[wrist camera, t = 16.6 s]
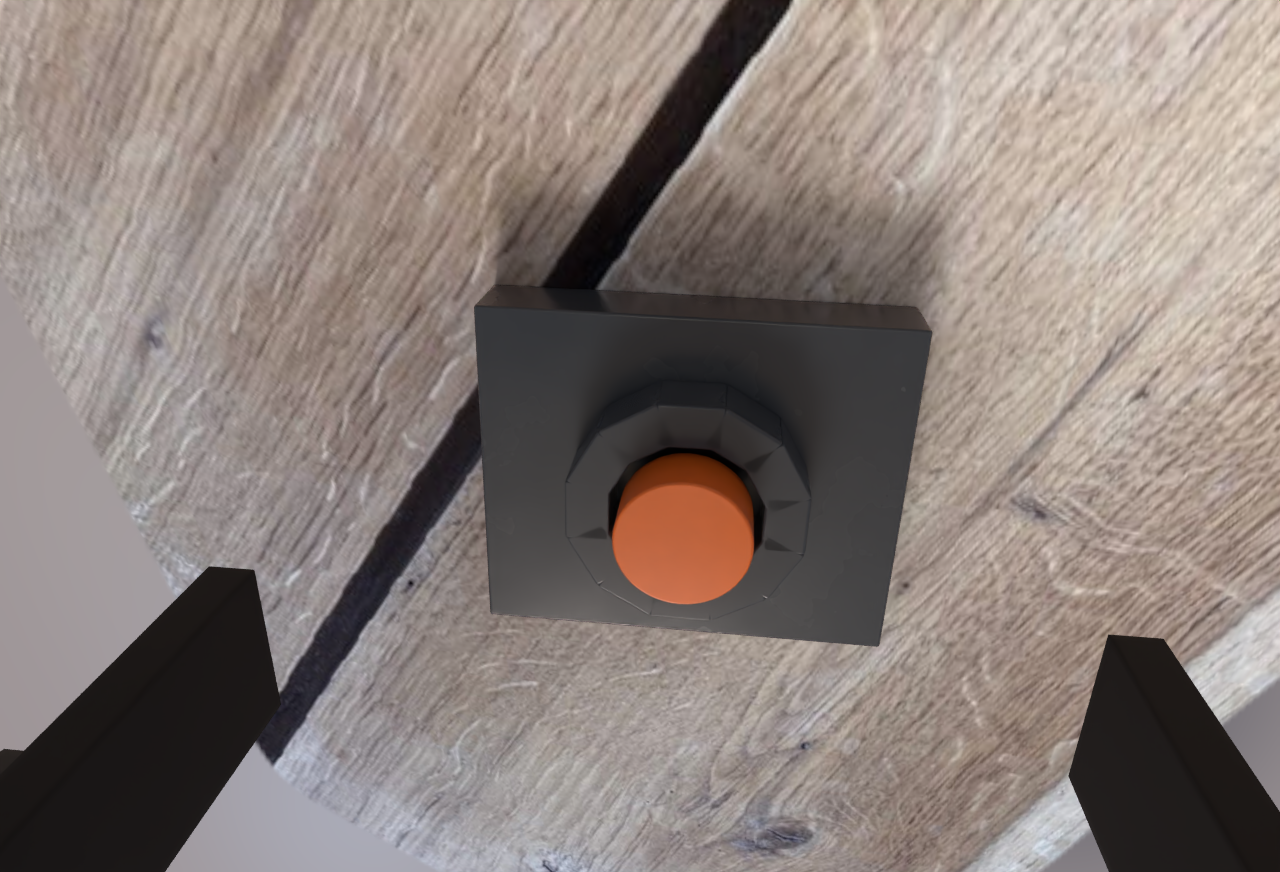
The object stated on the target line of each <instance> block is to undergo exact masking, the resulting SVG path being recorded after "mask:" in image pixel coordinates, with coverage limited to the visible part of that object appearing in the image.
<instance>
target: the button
mask: <svg viewBox="0 0 1280 872" xmlns="http://www.w3.org/2000/svg"><path fill="white" fill-rule="evenodd" d="M612 548H613V552H614V556H615V559H616V562H617V564H618V566H619V567H620V569H621V571H622V572H623V574H624V575H625V576H626V578H627V579H628V580H629V581H630V582H631V583H632V584H633V585H634V586H635V587H637V588H638V589H639V590H641V591H642V592H644V593H645V594H647V595H649V596H651V597H653V598H656V599H659V600H661V601H665V602H669V603H676V604H697V603H702V602H707V601H710V600H713V599H715V598H718V597H720V596H722V595H724V594H725V593H727V592H728V591H730V590H731V589H732V588H734V587H735V586H736V585H737V584H738V583H739V582H740V581H741V580H742V578H743V577H744V575H745V574H746V573H747V571H748V569H749V567H750V564H751V561H752V558H753V553H754V514H753V504H752V500H751V497H750V494H749V492H748V490H747V488H746V486H745V485H744V483H743V481H742V480H741V479H740V478H739V477H738V475H737V474H736V473H734V472H733V471H732V470H731V469H730V468H728V467H727V466H726V465H724V464H722V463H721V462H719V461H717V460H715V459H712V458H710V457H707V456H703V455H699V454H692V453H677V454H670V455H666V456H662V457H659V458H657V459H654V460H652V461H650V462H648V463H647V464H645V465H644V466H642V467H641V468H640V469H639V470H638V471H636V472H635V473H634V474H633V476H632V477H631V478H630V479H629V481H628V483H627V484H626V486H625V488H624V490H623V493H622V496H621V500H620V504H619V508H618V512H617V516H616V520H615V524H614V528H613V532H612Z"/></svg>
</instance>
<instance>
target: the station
mask: <svg viewBox="0 0 1280 872" xmlns="http://www.w3.org/2000/svg"><path fill="white" fill-rule="evenodd" d="M474 315H475V333H476V352H477V371H478V389H479V408H480V426H481V445H482V464H483V482H484V501H485V520H486V538H487V557H488V575H489V594H490V612H491V614H499V615H510V616H522V617H534V618H546V619H558V620H569V621H581V622H593V623H605V624H617V625H628V626H640V627H652V628H664V629H676V630H687V631H699V632H711V633H723V634H735V635H746V636H758V637H770V638H782V639H794V640H805V641H817V642H829V643H841V644H853V645H864V646H876V647H877V646H879V644H880V638H881V632H882V626H883V621H884V615H885V609H886V603H887V597H888V591H889V585H890V579H891V574H892V568H893V562H894V556H895V550H896V544H897V538H898V532H899V527H900V521H901V515H902V509H903V503H904V497H905V491H906V485H907V479H908V474H909V468H910V462H911V456H912V450H913V444H914V438H915V432H916V427H917V421H918V415H919V409H920V403H921V397H922V391H923V385H924V379H925V374H926V368H927V362H928V356H929V350H930V344H931V338H932V330H931V329H930V327H929V326H928V324H927V322H926V321H925V319H924V317H923V316H922V314H921V313H920V311H919V309H918V308H916V307H902V306H883V305H865V304H846V303H827V302H809V301H790V300H771V299H753V298H734V297H715V296H697V295H678V294H659V293H641V292H622V291H603V290H585V289H566V288H547V287H529V286H510V285H494V286H493V287H492V288H491V289H490V290H489V291H488V292H487V293H486V294H485V295H484V296H483V298H482V299H481V300H480V301H479V302H478V303H477V304H476V305H475V306H474ZM677 453H692V454H699V455H703V456H707V457H710V458H712V459H715V460H717V461H719V462H721V463H722V464H724V465H726V466H727V467H728V468H730V469H731V470H732V471H733V472H734V473H736V474H737V475H738V477H739V478H740V479H741V480H742V481H743V483H744V485H745V486H746V488H747V490H748V492H749V494H750V497H751V500H752V504H753V514H754V553H753V558H752V561H751V564H750V567H749V569H748V571H747V573H746V574H745V575H744V577H743V578H742V580H741V581H740V582H739V583H738V584H737V585H736V586H735V587H734V588H732V589H731V590H730V591H728V592H727V593H725V594H724V595H722V596H720V597H718V598H715V599H713V600H710V601H707V602H702V603H697V604H676V603H669V602H665V601H661V600H659V599H656V598H653V597H651V596H649V595H647V594H645V593H644V592H642V591H641V590H639V589H638V588H637V587H635V586H634V585H633V584H632V583H631V582H630V581H629V580H628V579H627V578H626V576H625V575H624V574H623V572H622V571H621V569H620V567H619V566H618V564H617V562H616V559H615V556H614V552H613V548H612V532H613V528H614V524H615V520H616V516H617V512H618V508H619V504H620V500H621V496H622V493H623V490H624V488H625V486H626V484H627V483H628V481H629V479H630V478H631V477H632V476H633V474H634V473H635V472H636V471H638V470H639V469H640V468H641V467H642V466H644V465H645V464H647V463H648V462H650V461H652V460H654V459H657V458H659V457H662V456H666V455H670V454H677Z"/></svg>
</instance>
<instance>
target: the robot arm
mask: <svg viewBox="0 0 1280 872" xmlns="http://www.w3.org/2000/svg"><path fill="white" fill-rule="evenodd" d="M280 705H281V702H280V697H279V692H278V687H277V682H276V677H275V672H274V667H273V662H272V657H271V652H270V647H269V642H268V637H267V632H266V627H265V621H264V616H263V611H262V606H261V601H260V596H259V591H258V586H257V581H256V576H255V571H254V570H249V569H236V568H223V567H210V566H209V567H208V568H207V569H206V570H205V571H204V572H203V573H202V574H201V575H200V576H199V577H198V578H197V579H196V580H195V581H194V582H193V583H192V584H191V585H190V586H189V587H188V588H187V589H186V590H185V591H184V592H183V593H182V594H181V595H180V596H179V597H178V598H177V599H176V600H175V601H174V602H173V603H172V604H171V605H170V606H169V607H168V608H167V609H166V610H165V611H164V612H163V613H162V614H161V615H160V616H159V617H158V618H157V619H156V620H155V621H154V622H153V623H152V624H151V625H150V626H149V627H148V628H147V629H146V630H145V631H144V632H143V633H142V634H141V635H140V636H139V637H138V638H137V639H136V640H135V641H134V642H133V643H132V644H131V645H130V646H129V647H128V648H127V649H126V650H125V651H124V652H123V653H122V654H121V655H120V656H119V657H118V658H117V659H116V660H115V661H114V662H113V663H112V664H111V665H110V666H109V667H108V668H107V669H106V670H105V671H104V672H103V673H102V674H101V675H100V676H99V677H98V678H97V679H96V680H95V681H94V682H93V683H92V684H91V685H90V686H89V687H88V688H87V689H86V690H85V691H84V692H83V693H82V694H81V695H80V696H79V697H78V698H77V699H76V700H75V701H74V702H73V703H72V704H71V705H70V706H69V707H68V708H67V709H66V710H65V711H64V712H63V713H62V714H61V715H60V716H59V717H58V718H57V719H56V720H55V721H54V722H53V723H52V724H51V725H50V726H49V727H48V728H47V729H46V730H45V731H44V732H43V733H42V734H40V735H39V736H38V737H37V739H35V740H34V741H33V743H31V745H29V747H27V748H26V750H24V751H20V750H10V749H3V750H2V751H0V872H165V871H166V870H167V868H168V867H169V865H170V864H171V862H172V861H173V860H174V858H175V857H176V855H177V854H178V852H179V851H180V849H181V848H182V846H183V845H184V844H185V842H186V841H187V839H188V838H189V836H190V835H191V834H192V832H193V831H194V829H195V828H196V826H197V825H198V823H199V822H200V820H201V819H202V817H203V816H204V815H205V813H206V812H207V810H208V809H209V807H210V806H211V805H212V803H213V802H214V800H215V799H216V797H217V796H218V795H219V793H220V792H221V790H222V789H223V787H224V786H225V784H226V783H227V781H228V780H229V778H230V777H231V776H232V774H233V773H234V772H235V770H236V768H237V767H238V766H239V764H240V763H241V761H242V760H243V758H244V757H245V755H246V754H247V753H248V751H249V750H250V748H251V747H252V746H253V744H254V743H255V741H256V740H257V738H258V737H259V735H260V734H261V733H262V731H263V730H264V728H265V727H266V725H267V724H268V722H269V721H270V720H271V718H272V717H273V715H274V714H275V712H276V711H277V709H278V708H279V707H280ZM1069 778H1070V781H1071V783H1072V785H1073V788H1074V790H1075V793H1076V795H1077V797H1078V800H1079V802H1080V804H1081V807H1082V809H1083V811H1084V814H1085V816H1086V819H1087V821H1088V823H1089V826H1090V828H1091V830H1092V833H1093V835H1094V837H1095V840H1096V842H1097V845H1098V847H1099V849H1100V852H1101V854H1102V856H1103V859H1104V861H1105V863H1106V866H1107V868H1108V871H1109V872H1280V812H1279V810H1278V808H1277V807H1276V806H1275V804H1274V803H1273V801H1272V800H1271V798H1270V797H1269V795H1268V794H1267V792H1266V791H1265V789H1264V788H1263V786H1262V785H1261V783H1260V782H1259V780H1258V779H1257V777H1256V776H1255V775H1254V773H1253V771H1252V770H1251V768H1250V767H1249V765H1248V764H1247V763H1246V761H1245V759H1244V758H1243V756H1242V755H1241V753H1240V752H1239V750H1238V749H1237V748H1236V746H1235V745H1234V743H1233V742H1232V740H1231V739H1230V737H1229V736H1228V734H1227V733H1226V731H1225V730H1224V728H1223V727H1222V725H1221V724H1220V722H1219V721H1218V719H1217V718H1216V716H1215V715H1214V713H1213V712H1212V710H1211V709H1210V707H1209V706H1208V704H1207V703H1206V701H1205V700H1204V698H1203V697H1202V695H1201V694H1200V693H1199V691H1198V690H1197V688H1196V687H1195V685H1194V684H1193V682H1192V681H1191V679H1190V678H1189V676H1188V675H1187V673H1186V672H1185V670H1184V669H1183V667H1182V666H1181V664H1180V663H1179V661H1178V660H1177V658H1176V657H1175V655H1174V654H1173V652H1172V651H1171V649H1170V648H1169V646H1168V645H1167V643H1166V642H1165V640H1164V639H1159V638H1146V637H1133V636H1120V635H1108V638H1107V641H1106V645H1105V648H1104V652H1103V655H1102V659H1101V663H1100V666H1099V670H1098V673H1097V677H1096V680H1095V684H1094V687H1093V691H1092V695H1091V698H1090V702H1089V705H1088V709H1087V712H1086V716H1085V719H1084V723H1083V726H1082V730H1081V734H1080V737H1079V741H1078V744H1077V748H1076V751H1075V755H1074V758H1073V762H1072V765H1071V769H1070V773H1069Z"/></svg>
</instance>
